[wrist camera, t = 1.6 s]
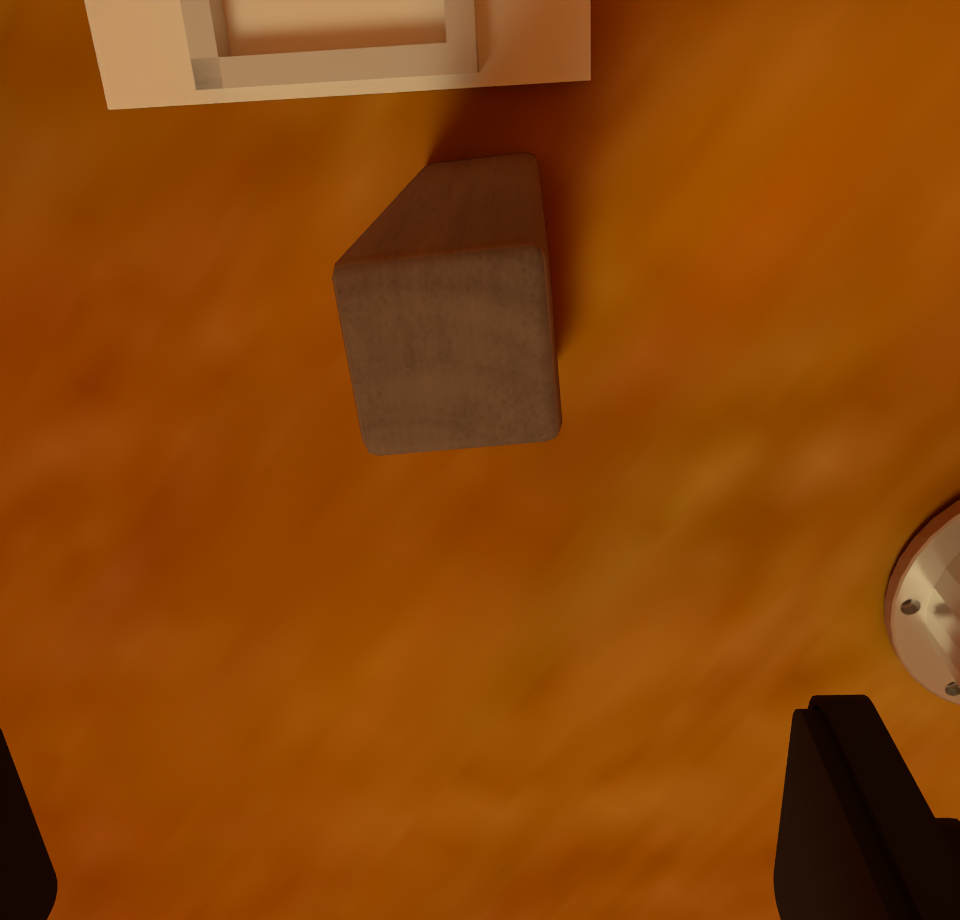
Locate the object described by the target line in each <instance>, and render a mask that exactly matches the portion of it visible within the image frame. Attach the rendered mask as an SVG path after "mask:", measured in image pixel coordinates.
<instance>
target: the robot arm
mask: <svg viewBox="0 0 960 920" xmlns="http://www.w3.org/2000/svg"><path fill="white" fill-rule="evenodd" d="M885 625H886V629H887V633H888V637H889V640H890V643H891V645H892V646H893V648H894V650H895V652H896V654H897V655H898V657H899V659H900V661H901V662H902V664H903V665H904V666H905V668H906V669H907V670H908V672H909V673H910V674H911V676H912V677H913V678H914V679H915V680H916V681H918V682H919V683H920V684H921V685H922V686H923V687H925V688H926V689H927V690H928V691H930V692H932V693H933V694H935V695H937V696H939V697H940V698H942V699H944V700H946V701H949V702H952V703H956V704H959V705H960V500H958V501H956V502H955V503H953V504H952V505H951V506H949V507H948V508H947V509H945V510H944V511H942V512H941V513H940V514H938V515H937V516H936V517H934V518H933V519H932V520H931V521H930V522H929V523H928V524H927V525H926V526H925V527H924V528H923V529H922V530H921V531H920V532H919V533H918V534H917V535H916V536H915V537H914V538H913V540H912V541H911V542H910V544H909V545H908V547H907V548H906V550H905V551H904V552H903V554H902V555H901V557H900V558H899V560H898V562H897V564H896V567H895V569H894V571H893V573H892V575H891V577H890V580H889V584H888V588H887V593H886V597H885ZM774 892H775V898H776V904H777V908H778V912H779V915H780V918H781V920H960V821H959V820H958V819H954V818H935V817H934V815H933V813H932V812H931V810H930V808H929V806H928V804H927V802H926V801H925V799H924V797H923V795H922V793H921V791H920V789H919V788H918V786H917V784H916V782H915V780H914V778H913V777H912V775H911V773H910V771H909V769H908V767H907V765H906V764H905V762H904V760H903V758H902V756H901V754H900V753H899V751H898V749H897V747H896V745H895V743H894V742H893V740H892V738H891V736H890V734H889V732H888V730H887V729H886V727H885V725H884V723H883V721H882V719H881V718H880V716H879V714H878V712H877V710H876V708H875V706H874V705H873V703H872V702H871V700H870V699H869V697H867V696H865V695H815V696H812V698H811V699H810V702H809V706H808V709H796V710H795V711H794V713H793V718H792V725H791V733H790V742H789V750H788V758H787V767H786V775H785V783H784V792H783V800H782V808H781V817H780V825H779V833H778V842H777V850H776V858H775V867H774ZM56 894H57V878H56V874H55V871H54V869H53V866H52V863H51V861H50V858H49V855H48V853H47V850H46V847H45V845H44V842H43V839H42V837H41V834H40V831H39V829H38V826H37V823H36V821H35V818H34V815H33V813H32V810H31V807H30V805H29V802H28V799H27V797H26V794H25V791H24V789H23V786H22V783H21V781H20V778H19V775H18V773H17V770H16V767H15V765H14V762H13V759H12V757H11V754H10V751H9V749H8V746H7V743H6V741H5V738H4V735H3V733H2V730H1V729H0V920H47V918H48V916H49V914H50V912H51V910H52V908H53V906H54V903H55V899H56Z"/></svg>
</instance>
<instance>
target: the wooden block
mask: <svg viewBox="0 0 960 920" xmlns="http://www.w3.org/2000/svg"><path fill="white" fill-rule="evenodd" d="M332 280H333V285H334V291H335V296H336V301H337V307H338V312H339V318H340V323H341V328H342V334H343V339H344V344H345V350H346V355H347V361H348V366H349V371H350V377H351V382H352V387H353V393H354V398H355V404H356V409H357V414H358V420H359V425H360V431H361V436H362V441H363V442H364V444H365V445H366V447H367V449H368V451H369V453H371V454H375V455H392V454H404V453H415V452H427V451H439V450H451V449H462V448H474V447H486V446H498V445H509V444H521V443H533V442H545V441H548V440H550V439H553V438H555V437H557V436H558V434H559V431H560V428H561V425H562V413H561V400H560V388H559V375H558V363H557V350H556V338H555V326H554V313H553V301H552V288H551V276H550V263H549V252H548V244H547V235H546V227H545V219H544V210H543V202H542V193H541V185H540V176H539V168H538V162H537V160H536V158H535V156H534V155H533V154H530V153H517V154H509V155H500V156H491V157H483V158H474V159H466V160H457V161H448V162H440V163H431V164H429V165H427V166H426V167H424V168H423V169H422V170H421V171H420V172H419V173H418V174H417V175H416V176H415V178H414V179H413V180H412V181H411V182H410V183H409V184H408V185H407V186H406V187H405V188H404V190H403V191H402V192H401V193H400V194H399V195H398V196H397V197H396V198H395V199H394V200H393V202H392V203H391V204H390V205H389V206H388V207H387V208H386V209H385V210H384V211H383V212H382V213H381V215H380V216H379V217H378V218H377V219H376V220H375V221H374V222H373V223H372V224H371V225H370V226H369V228H368V229H367V230H366V231H365V232H364V233H363V234H362V235H361V236H360V237H359V238H358V239H357V241H356V242H355V243H354V244H353V245H352V246H351V247H350V248H349V249H348V250H347V251H346V252H345V254H344V255H343V256H342V257H341V258H340V259H339V260H338V261H337V262H336V263H335V267H334V271H333V276H332Z"/></svg>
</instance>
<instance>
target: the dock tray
mask: <svg viewBox="0 0 960 920" xmlns="http://www.w3.org/2000/svg"><path fill="white" fill-rule="evenodd" d="M84 2H85V6H86V11H87V15H88V20H89V24H90V29H91V33H92V38H93V42H94V47H95V51H96V56H97V61H98V65H99V70H100V74H101V79H102V83H103V88H104V92H105V97H106V101H107V106H108V110H112V109H128V108H145V107H161V106H178V105H194V104H210V103H227V102H243V101H260V100H276V99H292V98H309V97H325V96H342V95H358V94H374V93H391V92H407V91H424V90H440V89H456V88H473V87H489V86H506V85H522V84H538V83H555V82H571V81H588V80H591V0H84Z"/></svg>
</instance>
